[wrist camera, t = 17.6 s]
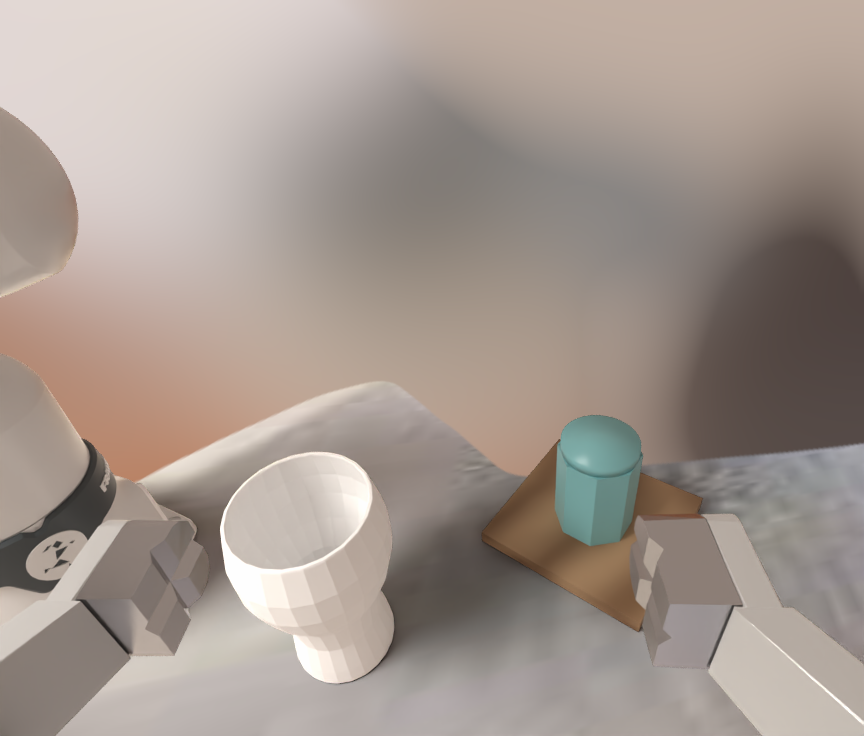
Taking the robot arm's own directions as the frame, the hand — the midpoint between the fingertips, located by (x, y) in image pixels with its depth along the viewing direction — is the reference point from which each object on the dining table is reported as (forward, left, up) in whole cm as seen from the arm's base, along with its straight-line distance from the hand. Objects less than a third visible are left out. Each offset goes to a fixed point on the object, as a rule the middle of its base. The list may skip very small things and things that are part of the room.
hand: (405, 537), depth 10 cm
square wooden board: (-6, +26, -32) cm, 42 cm away
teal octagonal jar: (-7, +26, -31) cm, 41 cm away
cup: (-17, +6, -32) cm, 37 cm away
